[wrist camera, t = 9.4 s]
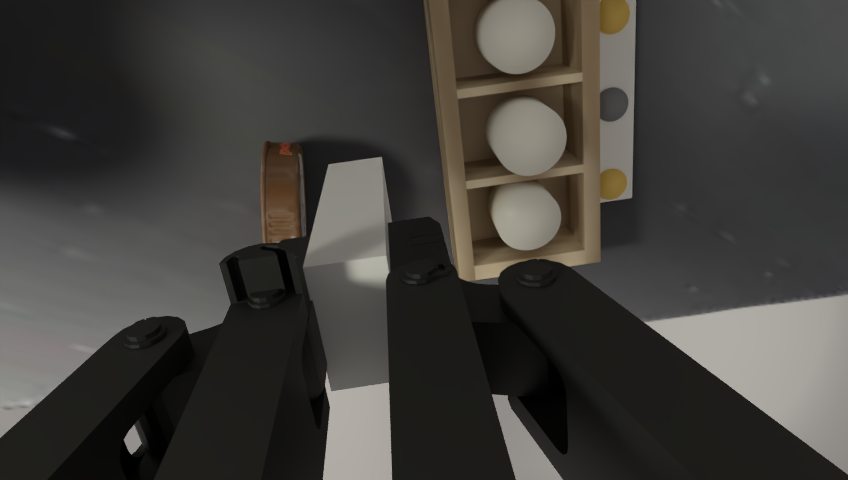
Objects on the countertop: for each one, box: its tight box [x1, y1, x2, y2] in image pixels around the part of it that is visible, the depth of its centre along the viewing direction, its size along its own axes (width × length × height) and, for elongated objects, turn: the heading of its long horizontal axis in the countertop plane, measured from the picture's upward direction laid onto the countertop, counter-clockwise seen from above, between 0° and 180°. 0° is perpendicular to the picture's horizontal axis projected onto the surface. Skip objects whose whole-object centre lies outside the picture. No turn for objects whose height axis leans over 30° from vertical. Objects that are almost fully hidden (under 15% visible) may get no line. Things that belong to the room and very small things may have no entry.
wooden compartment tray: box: [423, 0, 600, 281], centre depth 44 cm, size 11×22×5 cm, turn 7°
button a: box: [488, 179, 561, 250], centre depth 45 cm, size 5×5×4 cm
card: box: [600, 0, 636, 203], centre depth 46 cm, size 4×16×1 cm, turn 7°
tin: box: [261, 141, 307, 243], centre depth 44 cm, size 15×3×8 cm, turn 177°
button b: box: [485, 94, 567, 176], centre depth 41 cm, size 5×5×4 cm
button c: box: [473, 0, 555, 74], centre depth 40 cm, size 5×5×4 cm
